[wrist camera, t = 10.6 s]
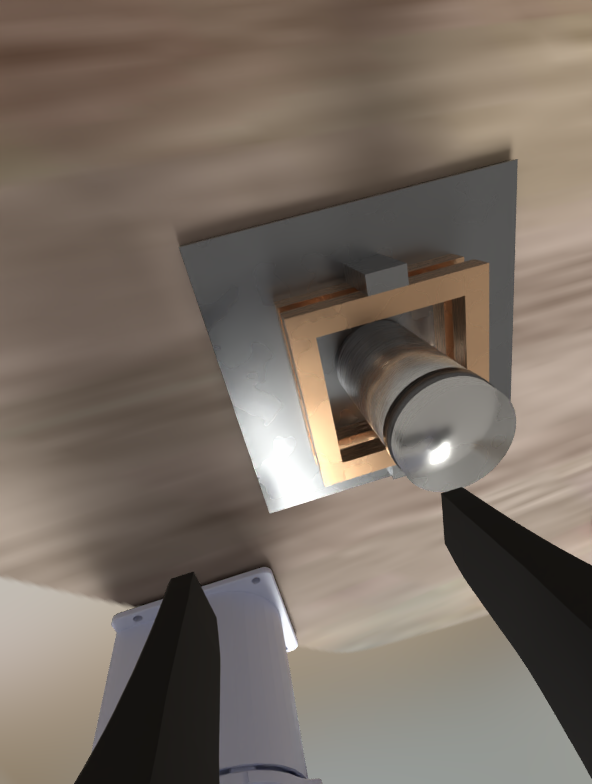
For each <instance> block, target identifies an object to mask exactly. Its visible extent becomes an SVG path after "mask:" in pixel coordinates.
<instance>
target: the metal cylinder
mask: <svg viewBox="0 0 592 784" xmlns="http://www.w3.org/2000/svg"><path fill="white" fill-rule="evenodd" d="M336 371H337V376H338V379H339V381H340V384H341V385H342V387H343V388H344V389H345V391H346V392H347V394H348V395H349V396H350V398H351V399H352V401H353V402H354V403H355V405H356V406H357V408H358V409H359V410H360V412H361V413H362V415H363V416H364V417H365V419H366V420H367V422H368V423H369V424H370V426H371V427H372V429H373V430H374V431H375V433H376V434H377V436H378V437H379V438H380V440H381V441H382V443H383V444H384V445H385V448H386V450H387V452H388V453H389V455H390V456H391V458H392V459H393V461H394V462H395V463H396V465H397V466H398V467H399V468H400V469H401V470H402V471H403V472H404V473H405V475H406V476H407V478H408V479H409V480H410V481H411V482H412V483H413V484H415V485H416V486H418V487H420V488H422V489H425V490H428V491H433V492H447V491H450V490H453V489H456V488H459V487H462V488H464V487H466V486H469V485H471V484H473V483H474V482H476V481H478V480H480V479H481V478H483V477H484V476H485V475H487V474H488V473H489V472H490V471H491V470H492V469H494V468H495V467H496V465H497V464H498V463H499V462H500V461H501V460H502V458H503V457H504V456H505V454H506V452H507V451H508V449H509V447H510V445H511V443H512V440H513V438H514V434H515V429H516V415H515V411H514V408H513V405H512V403H511V402H510V400H509V399H508V398H507V397H506V396H505V395H504V394H503V393H501V392H500V391H499V390H497V389H496V388H495V387H494V386H493V385H492V384H491V383H489V382H488V381H487V380H485V379H484V378H482V377H481V376H479V375H478V374H476V373H474V372H472V371H470V370H467V369H466V368H464V367H463V366H461V365H460V364H458V363H457V362H455V361H454V360H452V359H451V358H450V357H448V356H447V355H445V354H444V353H442V352H441V351H439V350H438V349H436V348H435V347H433V346H432V345H430V344H429V343H427V342H426V341H424V340H423V339H421V338H420V337H418V336H417V335H415V334H414V333H412V332H411V331H409V330H408V329H406V328H405V327H403V326H402V325H400V324H398V323H396V322H392V321H382V320H381V321H375V322H371V323H368V324H365V325H363V326H362V327H360V328H358V329H357V330H355V331H354V332H353V333H352V334H351V335H350V336H349V337H348V338H347V339H346V341H345V342H344V343H343V345H342V347H341V349H340V351H339V354H338V358H337V364H336Z"/></svg>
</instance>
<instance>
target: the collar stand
mask: <svg viewBox="0 0 592 784" xmlns="http://www.w3.org/2000/svg"><path fill="white" fill-rule="evenodd" d="M517 160H518V159H515V160H508V161H504V162H500V163H497V164H493V165H489V166H485V167H481V168H477V169H474V170H470V171H466V172H462V173H458V174H454V175H450V176H447V177H443V178H439V179H435V180H431V181H427V182H424V183H420V184H416V185H412V186H408V187H404V188H400V189H397V190H393V191H389V192H385V193H381V194H377V195H374V196H370V197H366V198H362V199H358V200H354V201H350V202H347V203H343V204H339V205H335V206H331V207H327V208H324V209H320V210H316V211H312V212H308V213H304V214H300V215H297V216H293V217H289V218H285V219H281V220H277V221H274V222H270V223H266V224H262V225H258V226H254V227H250V228H247V229H243V230H239V231H235V232H231V233H227V234H223V235H220V236H216V237H212V238H208V239H204V240H200V241H197V242H193V243H189V244H185V245H181V246H179V249H180V252H181V255H182V258H183V261H184V264H185V267H186V270H187V273H188V276H189V279H190V282H191V285H192V287H193V290H194V293H195V296H196V299H197V302H198V305H199V308H200V311H201V314H202V317H203V320H204V323H205V326H206V328H207V331H208V334H209V337H210V340H211V343H212V346H213V349H214V352H215V355H216V358H217V361H218V364H219V367H220V369H221V372H222V375H223V378H224V381H225V384H226V387H227V390H228V393H229V396H230V399H231V402H232V405H233V408H234V410H235V413H236V416H237V419H238V422H239V425H240V428H241V431H242V434H243V437H244V440H245V443H246V446H247V449H248V451H249V454H250V457H251V460H252V463H253V466H254V469H255V472H256V475H257V478H258V481H259V484H260V487H261V490H262V492H263V495H264V498H265V501H266V504H267V507H268V510H269V513H273V512H276V511H279V510H282V509H286V508H289V507H292V506H295V505H299V504H302V503H305V502H308V501H311V500H315V499H318V498H321V497H324V496H328V495H331V494H334V493H337V492H340V491H344V490H347V489H350V488H353V487H356V486H360V485H363V484H366V483H369V482H373V481H376V480H379V479H382V478H385V477H389V476H392V478H393V479H397V478H400V477H403V476H406V475H405V473H404V472H403V471H402V470H401V469H400V468H399V467H398V466H397V465H396V463H395V462H394V461H393V459H392V458H391V456H390V455H389V453H388V452H387V450H386V448H385V445H384V444H383V443H382V441H381V440H380V438H379V437H378V436H377V434H376V433H375V431H374V430H373V429H372V427H371V426H370V424H369V423H368V422H367V420H366V419H365V417H364V416H363V415H362V413H361V412H360V410H359V409H358V408H357V406H356V405H355V403H354V402H353V401H352V399H351V398H350V396H349V395H348V394H347V392H346V391H345V389H344V388H343V387H342V385H341V384H340V381H339V379H338V376H337V371H336V364H337V358H338V354H339V351H340V349H341V347H342V345H343V343H344V342H345V341H346V339H347V338H348V337H349V336H350V335H351V334H352V333H353V332H354V331H355V330H357V329H358V328H360V327H362V326H363V325H365V324H368V323H371V322H375V321H381V320H382V321H392V322H396V323H398V324H400V325H402V326H403V327H405V328H406V329H408V330H409V331H411V332H412V333H414V334H415V335H417V336H418V337H420V338H421V339H423V340H424V341H426V342H427V343H429V344H430V345H432V346H433V347H435V348H436V349H438V350H439V351H441V352H442V353H444V354H445V355H447V356H448V357H450V358H451V359H452V360H454V361H455V362H457V363H458V364H460V365H461V366H463V367H464V368H466V369H467V370H470V371H472V372H474V373H476V374H478V375H479V376H481V377H482V378H484V379H485V380H487V381H488V382H489V383H491V384H492V385H493V386H494V387H495V388H496V389H497V390H499V391H500V392H501V393H503V394H504V395H505V396H506V397H507V398H508V399H509V400H510V401H511V366H512V332H513V297H514V263H515V229H516V194H517Z"/></svg>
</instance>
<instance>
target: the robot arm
mask: <svg viewBox="0 0 592 784" xmlns="http://www.w3.org/2000/svg"><path fill="white" fill-rule="evenodd" d="M441 497H442V511H443V525H444V539H445V545H446V546H447V548H448V550H449V552H450V554H451V556H452V557H453V559H454V561H455V563H456V565H457V566H458V568H459V570H460V572H461V573H462V575H463V577H464V578H465V580H466V581H467V583H468V584H469V586H470V587H471V588H472V590H473V591H474V593H475V594H476V596H477V597H478V598H479V600H480V601H481V603H482V604H483V605H484V607H485V608H486V610H487V611H488V612H489V614H490V615H491V617H492V618H493V620H494V621H495V622H496V624H497V625H498V626H499V628H500V629H501V631H502V632H503V634H504V635H505V636H506V638H507V639H508V641H509V642H510V643H511V645H512V646H513V647H514V649H515V650H516V652H517V653H518V655H519V656H520V658H521V659H522V661H523V662H524V664H525V665H526V667H527V668H528V670H529V671H530V673H531V675H532V676H533V678H534V679H535V681H536V683H537V685H538V686H539V688H540V689H541V691H542V693H543V695H544V696H545V698H546V700H547V701H548V703H549V705H550V706H551V708H552V710H553V711H554V713H555V715H556V717H557V718H558V720H559V722H560V724H561V725H562V727H563V729H564V731H565V732H566V734H567V736H568V738H569V739H570V741H571V743H572V744H573V746H574V748H575V750H576V751H577V753H578V755H579V757H580V758H581V760H582V762H583V764H584V765H585V768H586V769H587V771H588V773H589V775H590V776H591V778H592V565H590V564H588V563H586V562H584V561H582V560H580V559H578V558H577V557H575V556H573V555H571V554H569V553H568V552H566V551H564V550H562V549H560V548H558V547H557V546H555V545H553V544H551V543H550V542H548V541H546V540H545V539H543V538H541V537H539V536H538V535H536V534H535V533H533V532H531V531H530V530H528V529H526V528H525V527H523V526H521V525H520V524H518V523H516V522H515V521H513V520H512V519H510V518H508V517H507V516H505V515H504V514H502V513H501V512H499V511H498V510H496V509H495V508H493V507H491V506H490V505H488V504H487V503H485V502H484V501H482V500H481V499H479V498H478V497H476V496H475V495H473V494H472V493H470V492H469V491H467V490H466V489H464V488H462V487H459V488H456V489H453V490H450V491H447V492H444V493H441ZM256 577H257V578H256ZM112 627H113V628H114V629H115V631H116V632H117V634H116V639H115V643H114V648H113V653H112V658H111V662H110V667H109V671H108V676H107V681H106V686H105V691H104V695H103V700H102V705H101V709H100V714H99V719H98V724H97V728H96V733H95V738H94V742H93V748H92V753H91V755H90V757H89V759H88V761H87V762H86V764H85V766H84V768H83V770H82V771H81V773H80V775H79V776H78V778H77V780H76V781H75V783H74V784H322V780H321V779H308V775H307V769H306V763H305V758H304V752H303V745H302V740H301V733H300V727H299V721H298V716H297V710H296V704H295V698H294V692H293V687H292V680H291V674H290V668H289V662H288V657H287V652H289V651H292V650H294V649H296V648H297V646H298V641H297V637H296V635H295V632H294V629H293V627H292V624H291V621H290V619H289V616H288V613H287V611H286V608H285V605H284V602H283V600H282V597H281V594H280V592H279V589H278V586H277V584H276V581H275V578H274V576H273V573H272V570H271V569H270V568H268V567H261V568H258V569H255V570H252V571H249V572H246V573H242V574H239V575H236V576H233V577H230V578H227V579H224V580H220V581H217V582H214V583H211V584H208V585H205V586H202V587H201V585H200V583H199V582H198V580H197V578H196V576H195V574H194V572H191V573H188V574H185V575H182V576H178V577H175V578H172V579H171V581H170V582H169V584H168V587H167V590H166V592H165V595H164V598H163V599H161V600H158V601H155V602H152V603H149V604H145V605H142V606H139V607H136V608H133V609H130V610H127V611H124V612H120V613H118V614H116V615H114V617H113V619H112Z"/></svg>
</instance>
